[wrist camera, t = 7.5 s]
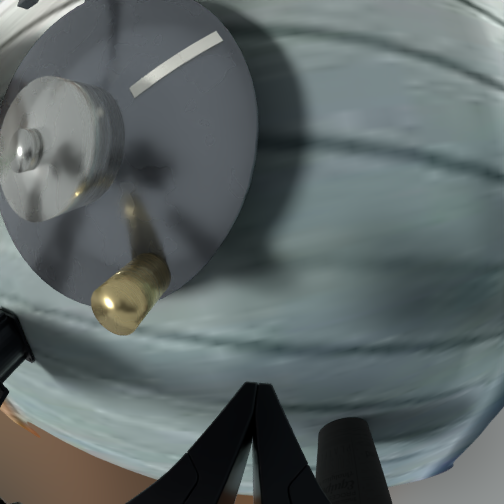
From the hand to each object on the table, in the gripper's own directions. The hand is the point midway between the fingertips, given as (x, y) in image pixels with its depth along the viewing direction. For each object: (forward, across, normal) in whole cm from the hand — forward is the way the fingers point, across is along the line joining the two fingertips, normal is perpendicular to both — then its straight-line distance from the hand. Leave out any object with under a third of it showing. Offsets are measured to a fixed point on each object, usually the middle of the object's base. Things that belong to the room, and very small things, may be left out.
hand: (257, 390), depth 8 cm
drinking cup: (+9, -8, +16) cm, 20 cm away
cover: (+6, +11, -8) cm, 15 cm away
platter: (+8, +11, -8) cm, 15 cm away
